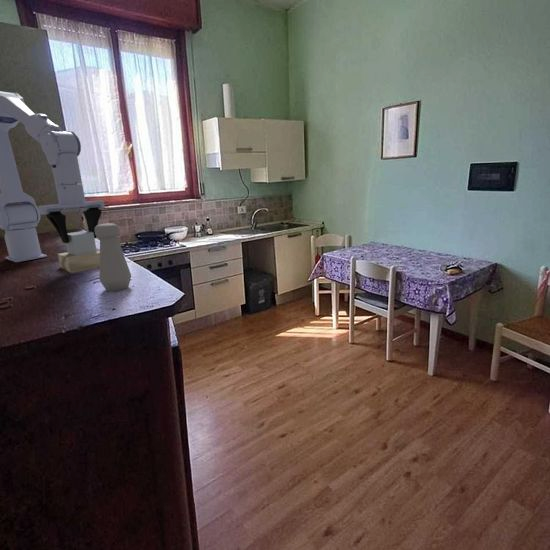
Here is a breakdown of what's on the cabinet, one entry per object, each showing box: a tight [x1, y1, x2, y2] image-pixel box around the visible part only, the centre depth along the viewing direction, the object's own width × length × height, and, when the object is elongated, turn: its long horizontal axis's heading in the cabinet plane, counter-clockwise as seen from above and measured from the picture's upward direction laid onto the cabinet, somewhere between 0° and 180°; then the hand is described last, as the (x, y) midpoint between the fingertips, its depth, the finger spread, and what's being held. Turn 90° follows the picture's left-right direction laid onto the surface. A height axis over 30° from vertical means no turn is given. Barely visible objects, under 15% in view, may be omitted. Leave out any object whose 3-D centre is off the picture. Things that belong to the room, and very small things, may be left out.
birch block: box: [57, 247, 100, 274], centre depth 91 cm, size 9×9×4 cm
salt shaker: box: [95, 222, 132, 293], centre depth 70 cm, size 6×6×13 cm
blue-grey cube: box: [65, 230, 97, 256], centre depth 90 cm, size 5×5×5 cm
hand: (80, 240), depth 90 cm, fingers open, 6 cm apart
